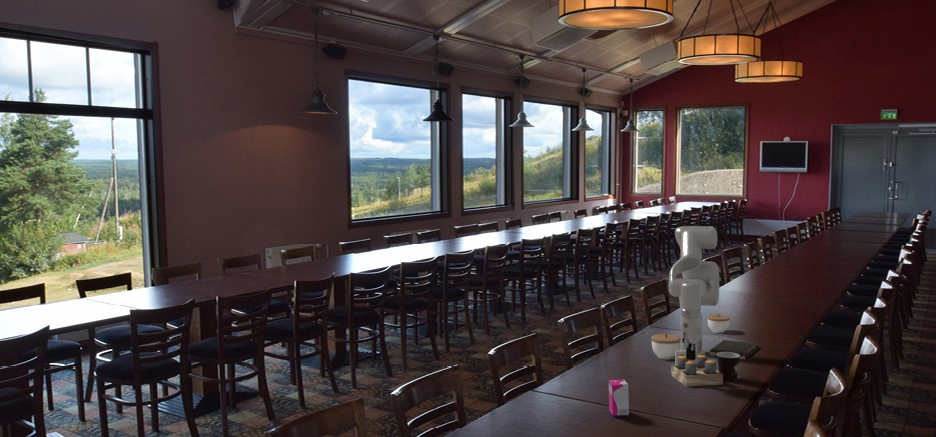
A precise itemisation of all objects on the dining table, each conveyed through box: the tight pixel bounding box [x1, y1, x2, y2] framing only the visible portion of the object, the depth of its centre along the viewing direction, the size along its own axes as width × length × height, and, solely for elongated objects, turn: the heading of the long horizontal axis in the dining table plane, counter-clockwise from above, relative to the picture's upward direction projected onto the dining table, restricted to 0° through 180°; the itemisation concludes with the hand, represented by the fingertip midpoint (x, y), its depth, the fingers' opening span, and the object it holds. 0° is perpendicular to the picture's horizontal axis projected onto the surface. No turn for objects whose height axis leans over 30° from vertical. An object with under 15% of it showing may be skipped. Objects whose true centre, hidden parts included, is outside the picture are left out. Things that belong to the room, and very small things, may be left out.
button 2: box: [685, 361, 696, 376], centre depth 273 cm, size 4×4×5 cm
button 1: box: [677, 356, 688, 370], centre depth 281 cm, size 4×4×5 cm
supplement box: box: [608, 379, 630, 418], centre depth 242 cm, size 6×6×12 cm
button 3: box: [696, 354, 708, 369], centre depth 282 cm, size 4×4×5 cm
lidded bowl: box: [650, 332, 681, 360], centre depth 311 cm, size 13×13×11 cm
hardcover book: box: [708, 339, 760, 361], centre depth 318 cm, size 16×23×2 cm
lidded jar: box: [706, 313, 730, 334], centre depth 354 cm, size 11×11×9 cm
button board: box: [670, 364, 724, 387], centre depth 278 cm, size 15×15×4 cm
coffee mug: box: [716, 352, 741, 383], centre depth 278 cm, size 12×9×10 cm
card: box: [674, 350, 697, 365], centre depth 288 cm, size 1×9×9 cm, turn 95°
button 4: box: [705, 359, 717, 375], centre depth 274 cm, size 4×4×5 cm
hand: (690, 359), depth 273 cm, fingers closed
